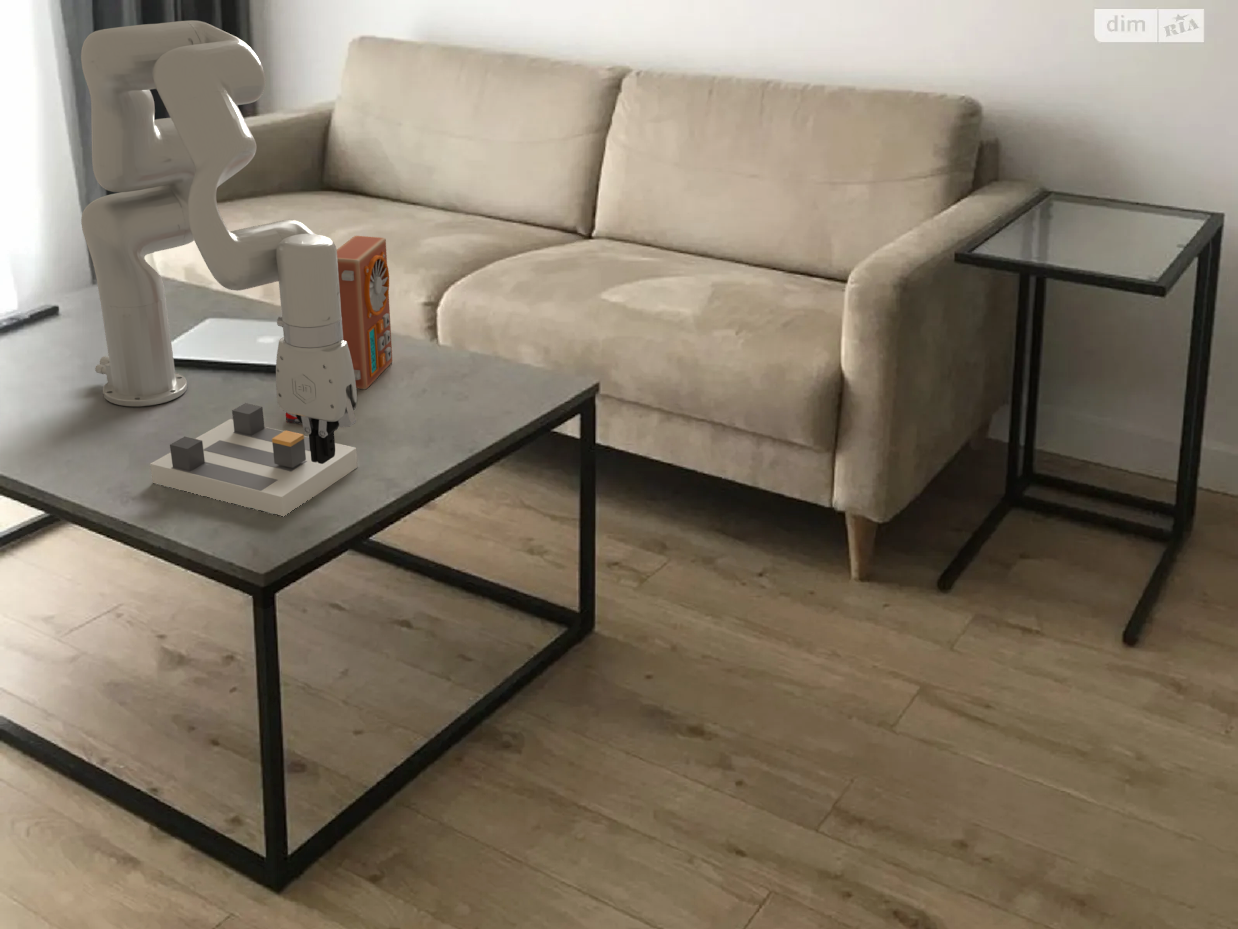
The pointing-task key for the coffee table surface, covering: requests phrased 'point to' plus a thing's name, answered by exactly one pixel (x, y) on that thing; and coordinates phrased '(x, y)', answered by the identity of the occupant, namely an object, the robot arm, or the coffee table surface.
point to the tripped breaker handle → (289, 449)
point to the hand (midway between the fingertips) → (323, 458)
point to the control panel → (365, 306)
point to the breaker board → (248, 466)
